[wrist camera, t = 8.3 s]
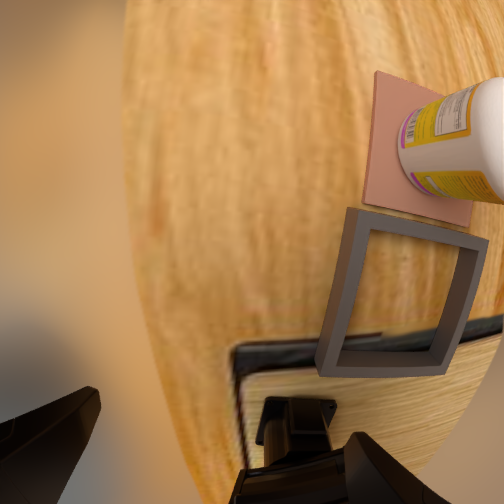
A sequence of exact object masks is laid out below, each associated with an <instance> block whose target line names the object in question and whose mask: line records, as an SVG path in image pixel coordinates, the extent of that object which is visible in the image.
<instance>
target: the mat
mask: <svg viewBox="0 0 504 504" xmlns="http://www.w3.org/2000/svg"><path fill="white" fill-rule="evenodd" d="M443 97H446V96H443V95H441V94H439V93H437V92H434V91H432V90H430V89H427V88H425V87H422V86H420V85H417V84H415V83H412V82H409V81H407V80H404V79H401V78H398V77H396V76H393V75H390V74H387V73H384V72H381V71H376V72H375V73H374V94H373V109H372V121H371V132H370V142H369V152H368V160H367V168H366V176H365V183H364V190H363V196H362V203H367V204H372V205H377V206H381V207H386V208H391V209H395V210H400V211H404V212H408V213H413V214H417V215H421V216H425V217H429V218H433V219H437V220H441V221H445V222H449V223H453V224H456V225H460V226H464V227H467V228H469V224H470V218H471V212H472V205H473V201H472V200H463V199H454V198H445V197H436V196H432V195H429V194H426V193H424V192H422V191H421V190H419V189H418V188H417V187H416V186H415V185H414V184H413V183H412V182H411V181H410V180H409V178H408V177H407V175H406V173H405V171H404V169H403V167H402V165H401V162H400V158H399V154H398V135H399V131H400V128H401V126H402V123H403V122H404V120H405V119H406V117H407V116H408V115H409V114H411V113H412V112H413V111H415V110H417V109H418V108H421V107H423V106H425V105H427V104H429V103H432V102H434V101H437V100H439V99H441V98H443Z"/></svg>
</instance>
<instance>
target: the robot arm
mask: <svg viewBox="0 0 504 504" xmlns="http://www.w3.org/2000/svg"><path fill="white" fill-rule="evenodd" d="M268 402H272V403H268ZM330 405H332V406H330ZM336 408H337V403H336V401H335V400H313V399H293V398H279V397H267V398H266V399H265V401H264V405H263V409H262V414H261V418H260V422H259V426H258V431H257V435H256V439H255V443H256V444H257V445H260V446H264V467H261V468H255V469H241V470H240V472H239V475H238V478H237V480H236V483H235V486H234V489H233V492H232V495H231V498H230V501H229V504H451V503H450V502H447V501H446V500H445V499H443V498H442V497H440V496H439V495H438V494H436V493H435V492H434V491H432V490H431V489H430V488H428V487H427V486H426V485H425V484H423V483H422V482H421V481H420V480H419V479H418V478H417V477H415V476H414V475H413V474H412V473H411V472H409V471H408V470H407V469H406V468H405V467H404V466H402V465H401V464H400V463H399V462H398V461H397V460H396V459H394V458H393V457H392V456H391V455H390V454H389V453H388V452H386V451H385V450H384V449H383V448H382V447H381V446H380V445H379V444H377V443H376V442H375V441H374V440H373V439H372V438H371V437H370V436H369V435H368V434H366V433H365V432H353V433H352V435H351V436H350V438H349V440H348V442H347V443H346V445H345V446H343V447H342V448H339V449H336V450H333V447H332V443H331V439H330V435H329V431H328V427H329V425H330V423H331V420H332V418H333V416H334V413H335V411H336ZM100 411H101V402H100V395H99V391H98V389H95V388H93V387H90V386H86V387H84V388H82V389H79V390H77V391H75V392H73V393H71V394H69V395H67V396H64V397H62V398H60V399H58V400H55V401H53V402H51V403H48V404H46V405H44V406H42V407H39V408H37V409H35V410H32V411H30V412H28V413H25V414H23V415H20V416H18V417H15V419H14V418H13V419H10V420H8V421H5V422H3V423H0V504H57V502H58V500H59V498H60V496H61V494H62V492H63V490H64V488H65V486H66V484H67V482H68V480H69V478H70V476H71V474H72V472H73V470H74V469H75V466H76V465H77V463H78V461H79V459H80V457H81V455H82V453H83V451H84V450H85V448H86V446H87V444H88V441H89V439H90V437H91V434H92V431H93V428H94V426H95V423H96V421H97V418H98V416H99V413H100Z"/></svg>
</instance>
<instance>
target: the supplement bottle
mask: <svg viewBox="0 0 504 504" xmlns="http://www.w3.org/2000/svg"><path fill="white" fill-rule="evenodd" d="M398 154H399V158H400V162H401V165H402V167H403V169H404V171H405V173H406V175H407V177H408V178H409V180H410V181H411V182H412V183H413V184H414V185H415V186H416V187H417V188H418V189H419V190H421V191H422V192H424V193H426V194H429V195H432V196H436V197H445V198H454V199H463V200H472V201H480V202H488V203H495V204H502V205H504V77H497V78H492V79H489V80H486V81H483V82H481V83H478V84H476V85H473V86H471V87H468V88H466V89H463V90H461V91H458V92H456V93H453V94H451V95H448V96H446V97H443V98H441V99H439V100H437V101H434V102H432V103H429V104H427V105H425V106H423V107H421V108H418V109H417V110H415V111H413V112H412V113H411V114H409V115H408V116H407V117H406V119H405V120H404V122H403V123H402V126H401V128H400V131H399V135H398Z"/></svg>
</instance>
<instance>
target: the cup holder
mask: <svg viewBox="0 0 504 504" xmlns="http://www.w3.org/2000/svg"><path fill="white" fill-rule="evenodd" d="M370 229H375V230H381V231H386V232H391V233H397V234H402V235H407V236H412V237H417V238H422V239H427V240H432V241H436V242H441V243H446V244H450V245H455V246H460V247H461V248H460V252H459V257H458V261H457V265H456V269H455V273H454V277H453V280H452V284H451V288H450V291H449V294H448V298H447V301H446V304H445V307H444V311H443V314H442V317H441V319H440V322H439V325H438V328H437V331H436V334H435V336H434V339H433V341H432V344H431V347H430V349H429V352H381V351H354V350H341V348H342V345H343V341H344V338H345V335H346V331H347V328H348V324H349V320H350V317H351V313H352V309H353V306H354V302H355V298H356V294H357V290H358V286H359V281H360V277H361V273H362V268H363V264H364V259H365V254H366V250H367V245H368V240H369V235H370ZM488 244H489V240H487V239H484V238H481V237H477V236H474V235H471V234H467V233H463V232H459V231H455V230H451V229H447V228H443V227H439V226H435V225H431V224H426V223H422V222H418V221H413V220H409V219H404V218H400V217H395V216H390V215H386V214H381V213H376V212H371V211H366V210H361V209H356V208H350V207H347V212H346V218H345V224H344V229H343V235H342V240H341V245H340V251H339V256H338V261H337V266H336V270H335V275H334V280H333V284H332V289H331V293H330V298H329V302H328V306H327V310H326V315H325V319H324V323H323V327H322V331H321V334H320V338H319V342H318V346H317V350H316V353H315V357H314V360H315V364H316V367H317V370H318V374H319V377H343V378H396V377H419V376H435V375H445V373H446V371H447V369H448V366H449V364H450V362H451V360H452V357H453V355H454V353H455V350H456V348H457V345H458V343H459V341H460V338H461V335H462V333H463V330H464V327H465V325H466V322H467V319H468V316H469V313H470V310H471V307H472V304H473V301H474V298H475V295H476V291H477V288H478V285H479V281H480V277H481V274H482V270H483V266H484V262H485V257H486V253H487V248H488Z"/></svg>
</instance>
